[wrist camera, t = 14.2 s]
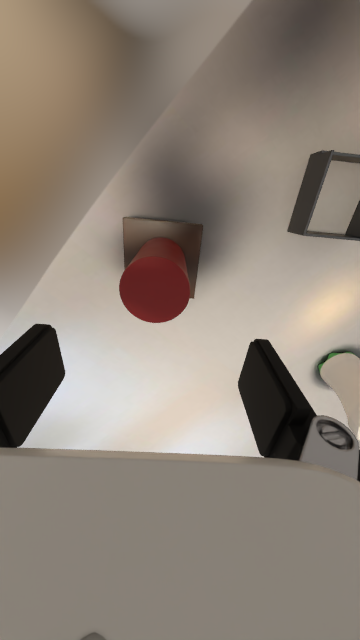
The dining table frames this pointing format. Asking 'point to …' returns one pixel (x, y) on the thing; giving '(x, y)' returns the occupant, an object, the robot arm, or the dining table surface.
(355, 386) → the cup
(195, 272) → the stool
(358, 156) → the dark square frame
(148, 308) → the can
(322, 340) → the dining table surface
